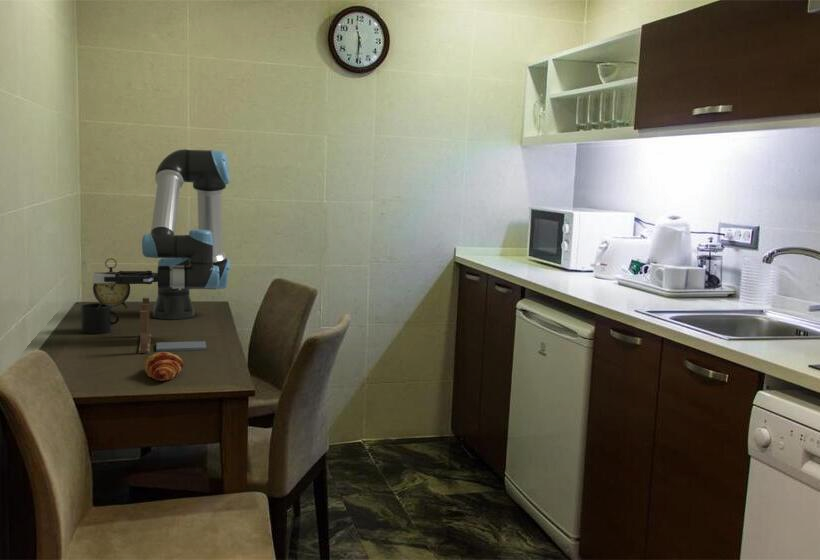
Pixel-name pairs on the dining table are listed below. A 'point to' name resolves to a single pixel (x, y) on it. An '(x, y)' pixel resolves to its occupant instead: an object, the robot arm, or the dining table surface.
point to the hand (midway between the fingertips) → (93, 277)
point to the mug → (97, 318)
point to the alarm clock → (111, 291)
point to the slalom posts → (145, 328)
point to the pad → (181, 346)
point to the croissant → (163, 366)
